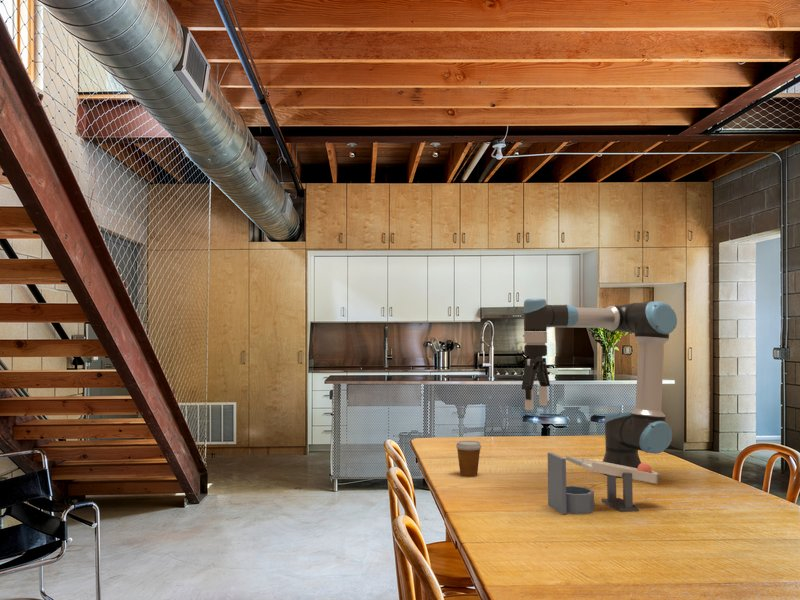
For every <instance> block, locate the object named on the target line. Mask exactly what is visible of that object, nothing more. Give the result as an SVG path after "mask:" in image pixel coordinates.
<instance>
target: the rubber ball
mask: <svg viewBox="0 0 800 600" xmlns="http://www.w3.org/2000/svg"><path fill="white" fill-rule="evenodd" d="M638 471H642V472H647V473H651V471H652V466H651V465H650V464H649V463H647V462H641V464H639V466H638Z"/></svg>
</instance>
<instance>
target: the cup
mask: <svg viewBox="0 0 800 600" xmlns="http://www.w3.org/2000/svg"><path fill="white" fill-rule="evenodd" d="M547 505H548V506H549V507H550V508H552V509H553V510H555V511H557V512H558V513H559V514H560V515H567V513H568V514H573V515H581V514H582V515H583V514H591V513H592V512H593V511H594V510H595V491H594V490H593V489H590V488H589V487H586V486H579V485H567V460H566V457H562V456H560V455H558V454H555V453H553V452H547Z"/></svg>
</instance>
